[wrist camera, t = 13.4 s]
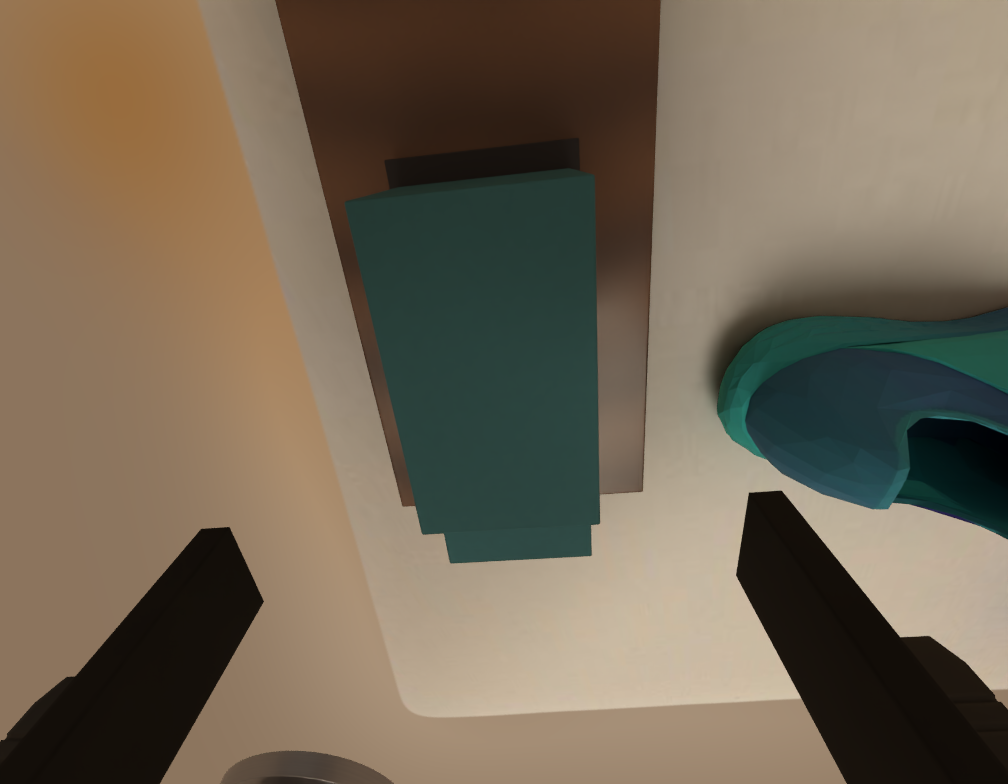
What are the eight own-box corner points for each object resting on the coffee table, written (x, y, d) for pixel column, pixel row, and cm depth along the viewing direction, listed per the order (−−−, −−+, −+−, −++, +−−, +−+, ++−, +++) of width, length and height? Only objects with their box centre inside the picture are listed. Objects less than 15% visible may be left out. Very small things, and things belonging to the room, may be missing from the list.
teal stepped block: (392, 159, 20) (320, 162, 12) (574, 138, 19) (608, 129, 12) (456, 501, 28) (434, 623, 20) (585, 493, 27) (609, 615, 20)
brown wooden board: (275, -116, 18) (232, -164, 15) (646, -176, 17) (669, -238, 14) (412, 476, 30) (402, 507, 28) (631, 461, 30) (643, 492, 27)
